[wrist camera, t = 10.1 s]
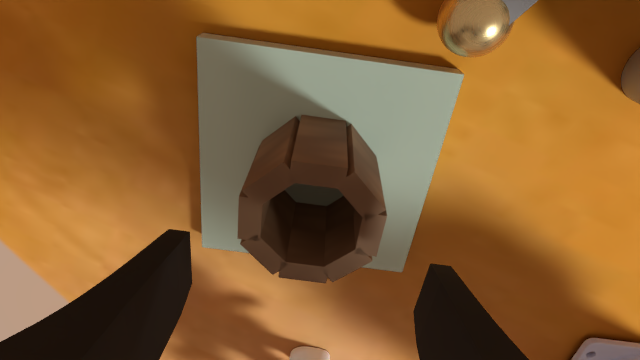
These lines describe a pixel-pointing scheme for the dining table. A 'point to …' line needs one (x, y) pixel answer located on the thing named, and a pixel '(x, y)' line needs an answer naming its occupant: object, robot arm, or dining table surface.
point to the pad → (321, 101)
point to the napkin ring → (309, 219)
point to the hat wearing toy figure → (309, 354)
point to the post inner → (632, 77)
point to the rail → (478, 24)
